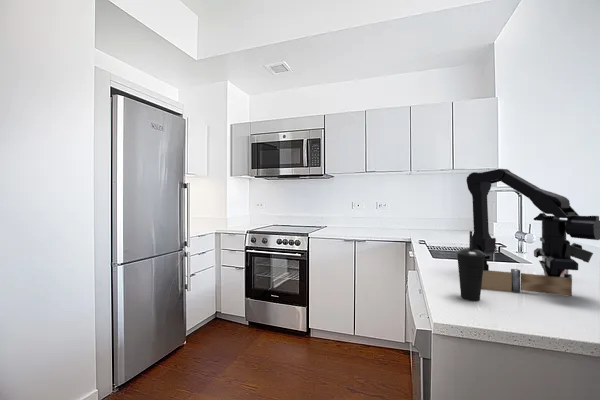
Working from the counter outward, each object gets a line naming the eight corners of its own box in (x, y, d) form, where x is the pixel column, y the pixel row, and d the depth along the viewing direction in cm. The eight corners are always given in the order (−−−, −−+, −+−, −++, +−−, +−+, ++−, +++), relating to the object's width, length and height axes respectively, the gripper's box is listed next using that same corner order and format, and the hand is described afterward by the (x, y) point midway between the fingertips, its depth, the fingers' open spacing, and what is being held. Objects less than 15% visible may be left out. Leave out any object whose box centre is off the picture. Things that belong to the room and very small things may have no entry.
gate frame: (478, 289, 94) (479, 267, 94) (475, 285, 98) (476, 265, 98) (577, 298, 86) (577, 275, 86) (569, 294, 89) (569, 271, 89)
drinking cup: (481, 295, 88) (482, 230, 88) (488, 304, 81) (489, 233, 81) (453, 292, 90) (454, 229, 90) (458, 301, 83) (458, 232, 83)
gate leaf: (521, 290, 91) (521, 274, 91) (520, 289, 92) (520, 273, 92) (571, 296, 85) (571, 278, 85) (570, 295, 86) (570, 277, 86)
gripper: (603, 242, 77) (603, 299, 77) (576, 233, 94) (576, 280, 94) (550, 239, 82) (550, 293, 83) (533, 231, 99) (533, 276, 99)
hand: (553, 285), depth 89 cm, fingers closed
